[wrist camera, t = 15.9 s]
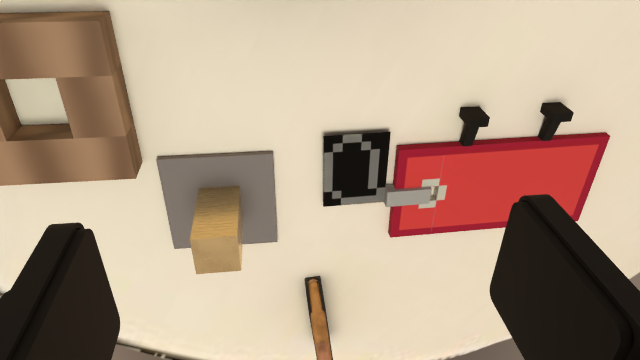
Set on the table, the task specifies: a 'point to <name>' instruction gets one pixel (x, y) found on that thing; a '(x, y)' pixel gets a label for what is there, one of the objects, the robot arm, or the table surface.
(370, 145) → the red board with handle
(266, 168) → the rubber mat
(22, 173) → the socket block
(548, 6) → the table surface
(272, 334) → the table surface
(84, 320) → the robot arm
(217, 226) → the wooden block
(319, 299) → the ammunition clip
